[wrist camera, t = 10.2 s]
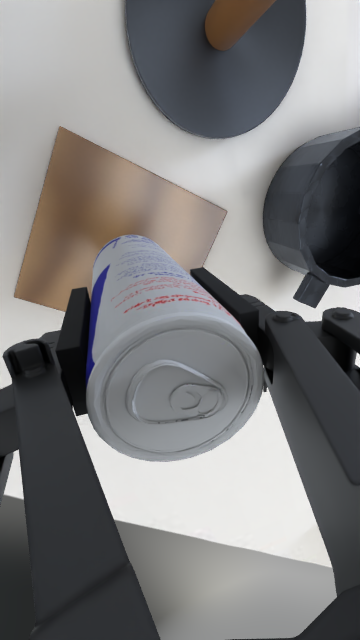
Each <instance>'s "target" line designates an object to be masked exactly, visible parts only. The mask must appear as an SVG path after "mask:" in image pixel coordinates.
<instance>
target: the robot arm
mask: <svg viewBox="0 0 360 640" xmlns="http://www.w3.org/2000/svg"><path fill="white" fill-rule="evenodd" d="M190 276H191V277H192V278H193V279H194V280H195V281H197V282H198V283H199V284H200V285H201V286H202V287H203V288H204V289H205V290H206V291H207V292H208V293H209V294H210V295H211V296H212V297H213V298H214V299H215V300H216V301H218V302H219V303H220V304H221V305H222V306H223V307H224V308H225V309H226V310H227V311H228V312H229V313H230V314H231V315H232V316H233V317H234V318H235V319H236V320H237V321H238V322H239V323H240V325H241V326H242V328H243V329H244V331H245V333H246V334H247V336H248V337H249V338H250V339H251V340H252V342H253V343H254V345H255V346H256V348H257V350H258V351H259V354H260V356H261V359H262V362H263V365H264V385H263V392H266V388H267V387H268V389H269V392H270V394H271V397H272V400H273V403H274V405H275V408H276V411H277V414H278V417H279V419H280V422H281V425H282V428H283V430H284V433H285V436H286V439H287V441H288V444H289V447H290V450H291V452H292V455H293V458H294V461H295V463H296V466H297V469H298V472H299V475H300V477H301V480H302V483H303V486H304V488H305V491H306V494H307V497H308V499H309V502H310V505H311V508H312V510H313V513H314V516H315V519H316V522H317V524H318V527H319V530H320V533H321V535H322V538H323V541H324V544H325V546H326V549H327V552H328V555H329V557H330V561H331V564H332V567H333V572H334V578H335V586H336V593H337V598H336V599H335V600H334V601H333V602H332V603H331V604H330V605H329V606H328V607H327V608H326V609H325V610H324V611H323V612H322V613H321V614H320V615H319V616H318V617H317V618H316V619H315V620H314V621H313V622H312V623H311V624H310V625H309V626H308V627H307V628H306V629H305V630H304V631H303V632H302V633H301V634H300V635H298V636H296V637H294V638H280V639H279V638H278V639H235V640H360V368H359V367H358V366H356V365H355V359H356V354H357V353H359V354H360V313H359V312H357V311H354V310H350V309H347V308H341V307H337V308H331V309H328V310H325V311H324V312H323V316H322V321H315V322H305V321H304V320H303V319H302V317H301V316H299V315H298V314H296V313H293V312H288V311H276V312H275V311H274V310H273V309H271V308H270V307H268V306H267V305H265V304H264V303H263V302H260V300H258V299H257V298H255V297H253V296H250V295H247V294H244V295H239V294H237V293H236V292H235V291H233V290H232V289H231V288H229V287H228V286H227V285H226V284H224V283H223V282H222V281H220V280H219V279H218V278H216V277H215V276H214V275H212V274H211V273H210V272H208V271H207V270H206V269H205V268H203V267H201V268H195V269H190ZM90 307H91V302H90V298H89V293H88V289H87V287H82V288H76V289H72V290H71V294H70V298H69V302H68V305H67V309H66V313H65V317H64V320H63V324H62V328H61V330H59V331H54V332H49V333H45V334H44V335H43V336H42V337H41V338H39V339H31V340H26V341H23V342H20V343H17V344H15V345H13V346H12V347H10V348H8V349H7V350H6V351H5V352H4V354H3V359H4V361H5V363H6V366H7V368H8V371H9V373H10V375H11V378H12V384H11V385H9V386H7V387H5V388H3V389H0V505H1V501H2V497H3V494H4V490H5V486H6V482H7V479H8V475H9V471H10V467H11V463H12V460H13V452H14V451H16V450H18V449H19V455H20V465H21V475H22V484H23V494H24V504H25V514H26V524H27V534H28V543H29V554H30V563H31V573H32V583H33V593H34V603H35V616H36V623H35V628H34V629H33V631H32V632H31V634H30V635H29V640H160V637H159V634H158V632H157V629H156V627H155V624H154V621H153V619H152V616H151V613H150V611H149V608H148V605H147V603H146V600H145V597H144V595H143V592H142V590H141V587H140V585H139V582H138V579H137V577H136V574H135V572H134V570H133V567H132V565H131V563H130V561H129V559H128V556H127V554H126V551H125V548H124V546H123V543H122V541H121V538H120V535H119V533H118V530H117V527H116V524H115V522H114V519H113V516H112V514H111V511H110V508H109V506H108V503H107V500H106V498H105V495H104V492H103V490H102V487H101V484H100V482H99V479H98V476H97V474H96V471H95V468H94V466H93V463H92V460H91V458H90V455H89V452H88V450H87V447H86V444H85V442H84V439H83V436H82V434H81V431H80V428H79V426H78V423H77V420H76V418H75V415H74V412H73V410H72V408H73V407H74V410H75V413H76V416H79V415H83V414H88V412H87V407H86V365H87V351H88V336H89V322H90ZM232 640H234V639H232Z"/></svg>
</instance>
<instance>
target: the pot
mask: <svg viewBox="0 0 360 640" xmlns="http://www.w3.org/2000/svg"><path fill="white" fill-rule="evenodd" d="M263 227H264V233H265V237H266V240H267V243H268V245H269V248H270V249H271V251H272V253H273V254H274V255H275V257H276V258H277V259H278V260H279V261H280V262H282V263H283V264H284V265H286V266H287V267H289V268H290V269H292V270H295V271H297V272H300V273H302V274H304V275H305V277H304V279H303V281H302V283H301V284H300V286H299V288H298V290H297V291H296V293H295V295H294V297H293V299H295V300H297V301H299V302H301V303H304V304H306V305H308V306H311V307H313V308H316V307H317V305H318V303H319V302H320V300H321V298H322V297H323V295H324V293H325V292H326V290H327V288H328V287H329V285H335V286H340V287H349V286H354V285H359V284H360V127H358V128H354V129H349V130H345V131H341V132H336V133H332V134H328V135H323V136H319V137H317V138H315V139H314V140H311V141H309V142H307V143H305V144H303V145H302V146H301V147H299V148H298V149H296V150H295V151H294V152H293V153H292V154H291V155H290V156H289V157H288V158H287V159H286V160H285V161H284V162H283V164H282V165H281V166H280V168H279V169H278V171H277V172H276V174H275V176H274V178H273V180H272V182H271V184H270V187H269V189H268V192H267V195H266V199H265V204H264V211H263Z"/></svg>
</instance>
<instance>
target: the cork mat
mask: <svg viewBox="0 0 360 640" xmlns="http://www.w3.org/2000/svg"><path fill="white" fill-rule="evenodd" d="M226 214H227V211H226V210H224V209H222V208H220V207H218V206H216V205H214V204H212V203H210V202H208V201H206V200H204V199H202V198H201V197H199V196H197V195H195V194H193V193H191V192H189V191H187V190H185V189H183V188H181V187H179V186H177V185H175V184H173V183H171V182H169V181H167V180H165V179H163V178H161V177H159V176H157V175H155V174H153V173H151V172H149V171H147V170H145V169H143V168H141V167H140V166H138V165H136V164H134V163H132V162H130V161H128V160H126V159H124V158H122V157H120V156H118V155H116V154H114V153H112V152H110V151H108V150H106V149H104V148H102V147H100V146H98V145H96V144H94V143H92V142H90V141H88V140H86V139H84V138H82V137H80V136H79V135H77V134H75V133H73V132H71V131H69V130H67V129H65V128H63V127H61V126H59V129H58V133H57V137H56V141H55V144H54V148H53V152H52V156H51V159H50V163H49V167H48V170H47V174H46V178H45V182H44V185H43V189H42V193H41V197H40V200H39V204H38V208H37V212H36V215H35V219H34V223H33V226H32V230H31V234H30V238H29V241H28V245H27V249H26V253H25V256H24V260H23V264H22V267H21V271H20V275H19V279H18V282H17V286H16V290H15V294H14V297H16V298H19V299H23V300H26V301H30V302H33V303H37V304H40V305H44V306H47V307H51V308H54V309H58V310H61V311H65V312H66V309H67V305H68V302H69V298H70V294H71V290H72V289H76V288H82V287H87V289H88V293H89V298H90V302H91V293H92V279H93V265H94V261H95V258H96V256H97V254H98V253H99V251H100V250H101V249H102V247H103V246H104V245H105V244H107V243H108V242H109V241H111V240H113V239H115V238H117V237H120V236H124V235H139V236H144V237H146V238H149V239H151V240H152V241H154V242H155V243H157V244H158V245H159V246H160V247H161V248H162V249H163V250H164V251H165V252H166V253H167V254H168V255H169V256H170V257H171V258H172V259H173V260H175V261H176V262H177V263H178V264H179V265H180V266H181V267H182V268H183V269H184V270H185V271H186V272H187V273H188V274H189V275H190V269H195V268H201V267H203V264H204V262H205V260H206V258H207V256H208V253H209V251H210V249H211V247H212V245H213V242H214V240H215V238H216V236H217V234H218V231H219V229H220V227H221V225H222V223H223V220H224V218H225V216H226Z"/></svg>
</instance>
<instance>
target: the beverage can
mask: <svg viewBox="0 0 360 640" xmlns="http://www.w3.org/2000/svg"><path fill="white" fill-rule="evenodd" d="M263 385H264V368H263V362H262V359H261V356H260V354H259V351H258V350H257V348H256V346H255V345H254V343H253V342H252V340H251V339H250V338H249V337H248V336H247V334H246V333H245V331H244V329H243V328H242V326H241V325H240V323H239V322H238V321H237V320H236V319H235V318H234V317H233V316H232V315H231V314H230V313H229V312H228V311H227V310H226V309H225V308H224V307H223V306H222V305H221V304H220V303H219V302H218V301H216V300H215V299H214V298H213V297H212V296H211V295H210V294H209V293H208V292H207V291H206V290H205V289H204V288H203V287H202V286H201V285H200V284H199V283H198V282H197V281H195V280H194V279H193V278H192V277H191V276H190V275H189V274H188V273H187V272H186V271H185V270H184V269H183V268H182V267H181V266H180V265H179V264H178V263H177V262H176V261H175V260H173V259H172V258H171V257H170V256H169V255H168V254H167V253H166V252H165V251H164V250H163V249H162V248H161V247H160V246H159V245H158V244H157V243H155V242H154V241H152V240H151V239H149V238H146V237H144V236H139V235H124V236H120V237H117V238H115V239H113V240H111V241H109V242H108V243H107V244H105V245H104V246H103V247H102V249H101V250H100V251H99V253H98V254H97V256H96V258H95V261H94V265H93V279H92V293H91V307H90V322H89V336H88V351H87V365H86V407H87V412H88V416H89V419H90V421H91V423H92V425H93V428H94V429H95V431H96V432H97V434H98V435H99V437H101V438H102V439H103V440H104V441H105V442H106V443H107V444H108V445H110V446H111V447H112V448H114V449H115V450H117V451H118V452H120V453H122V454H125V455H127V456H130V457H132V458H136V459H140V460H146V461H158V462H168V461H176V460H182V459H186V458H191V457H194V456H197V455H199V454H202V453H205V452H207V451H210V450H212V449H214V448H215V447H217V446H219V445H220V444H222V443H223V442H225V441H227V440H228V439H230V438H231V437H232V436H233V435H234V434H235V433H236V432H238V431H239V430H240V429H241V428H242V427H243V426H244V425H245V423H246V422H247V421H248V419H249V418H250V417H251V416H252V414H253V412H254V411H255V409H256V407H257V405H258V402H259V400H260V397H261V394H262V390H263Z"/></svg>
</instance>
